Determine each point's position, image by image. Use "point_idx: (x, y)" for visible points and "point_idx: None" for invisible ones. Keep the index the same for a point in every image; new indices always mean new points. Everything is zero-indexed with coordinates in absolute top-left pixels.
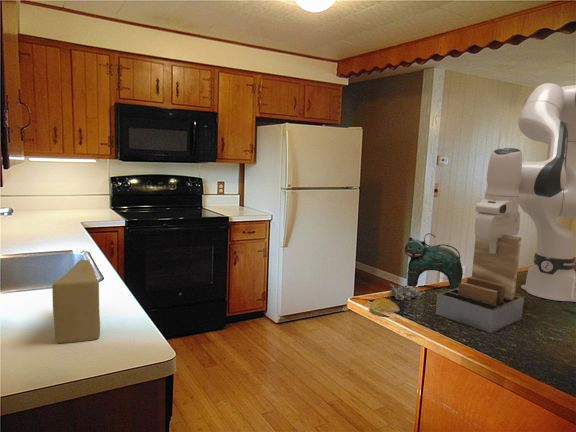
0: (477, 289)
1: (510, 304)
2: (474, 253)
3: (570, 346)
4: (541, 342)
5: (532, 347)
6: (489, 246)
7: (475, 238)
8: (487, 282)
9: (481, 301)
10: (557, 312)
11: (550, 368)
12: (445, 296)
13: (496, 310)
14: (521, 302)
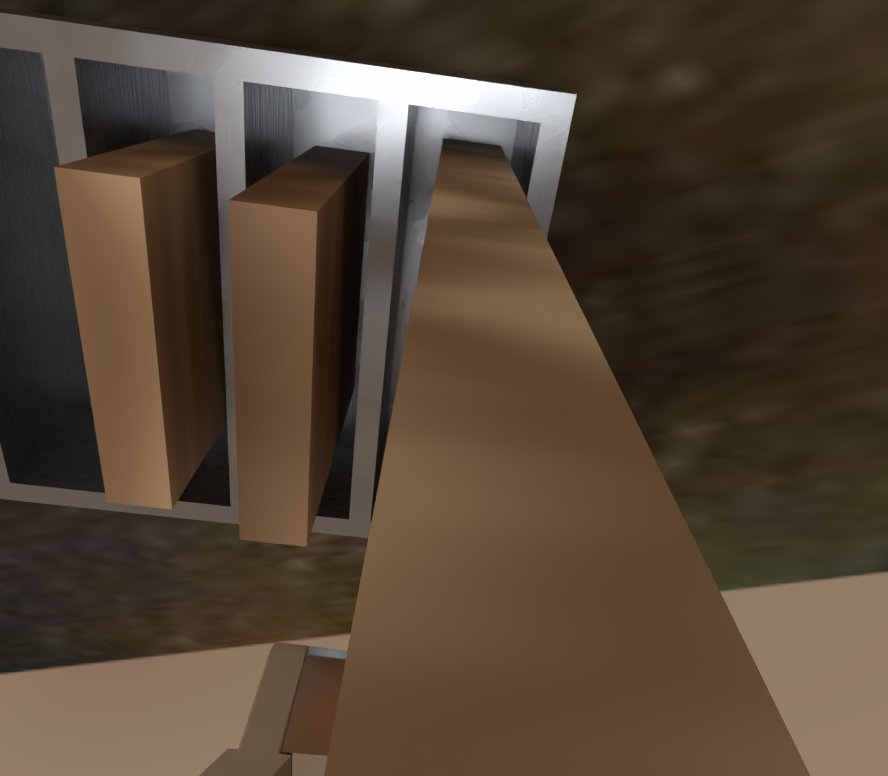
0: (91, 367)
1: None
2: (418, 283)
3: (348, 631)
4: (285, 557)
5: (188, 546)
6: (222, 757)
7: (383, 494)
8: (243, 424)
9: None
10: (843, 527)
11: (52, 620)
12: None
13: (45, 498)
14: None
